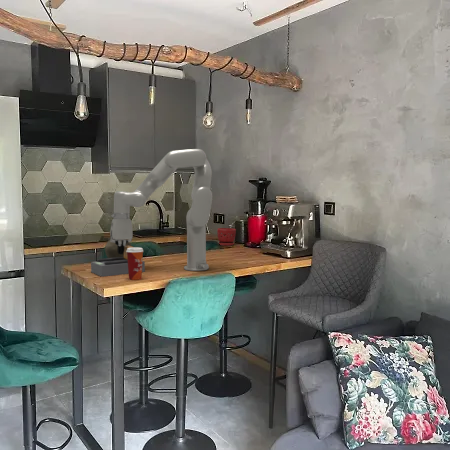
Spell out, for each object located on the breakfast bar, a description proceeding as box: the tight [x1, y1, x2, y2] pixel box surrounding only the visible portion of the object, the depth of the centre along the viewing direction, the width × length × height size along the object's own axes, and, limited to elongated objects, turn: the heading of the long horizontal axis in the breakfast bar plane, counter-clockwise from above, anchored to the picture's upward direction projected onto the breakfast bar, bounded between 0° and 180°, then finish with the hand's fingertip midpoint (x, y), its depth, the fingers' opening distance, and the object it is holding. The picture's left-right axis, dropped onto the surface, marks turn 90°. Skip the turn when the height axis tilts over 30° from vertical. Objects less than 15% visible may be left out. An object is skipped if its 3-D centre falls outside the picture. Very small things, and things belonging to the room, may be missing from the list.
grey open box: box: [90, 257, 146, 278], centre depth 225 cm, size 14×22×6 cm, turn 126°
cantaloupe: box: [104, 238, 132, 258], centre depth 244 cm, size 14×14×15 cm
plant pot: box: [216, 227, 237, 247], centre depth 328 cm, size 13×13×12 cm
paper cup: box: [126, 246, 144, 281], centre depth 209 cm, size 8×8×14 cm
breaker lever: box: [124, 245, 134, 260], centre depth 228 cm, size 5×3×8 cm, turn 36°
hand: (120, 253), depth 226 cm, fingers closed
